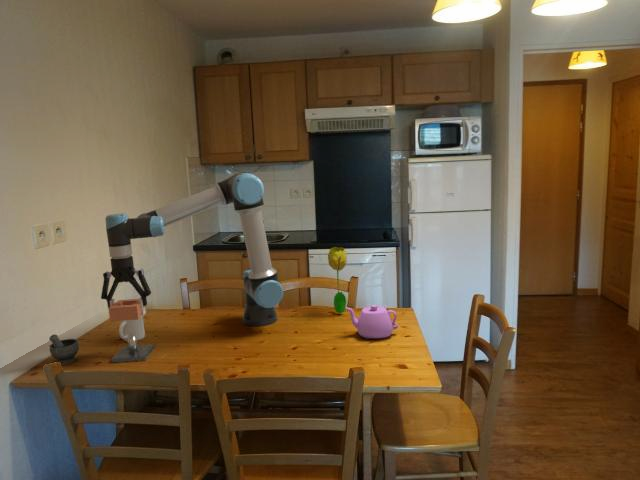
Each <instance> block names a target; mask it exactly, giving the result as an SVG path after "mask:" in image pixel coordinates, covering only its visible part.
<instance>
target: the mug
mask: <svg viewBox="0 0 640 480" xmlns="http://www.w3.org/2000/svg"><path fill="white" fill-rule="evenodd" d="M120 322H121V323H120V325H119V327H118V334H119V337H120V338H121V339H122V340H124V342H126V341H127V342H126V343H128V339H127V336H129V335H136V340H137V342H139V341H142V340H143V339H144V338H145V337H146V332H145V322H144V316H141V317H140V318H139V319H138V320H124V321H120ZM138 340H139V341H138Z"/></svg>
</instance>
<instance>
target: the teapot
mask: <svg viewBox="0 0 640 480" xmlns="http://www.w3.org/2000/svg"><path fill="white" fill-rule="evenodd" d="M345 310H347V311H348V312H349V314H350V320H351V323H352V325H353V327H355V328H356V329H357V332H358V335H359V336H361V337H362V338H365V339H369V340H370V339H385V338H388V337H390V336H391V335H392V333H393V330H397V329H398V328H399V325H398V323H396V321H397V319H398V318H397V316H398V315H397V312H396V311H394V310H393V309H389V310H387V308H386V307H383V306H378V304H371V305H370V306H367V307H363V308H362V310H361V312H360V315H359V316H358V318H357V317H356V316H355V311H354V310H353V308H351V307H347V306H346V307H345ZM390 313H391V314H393V315H394V316H393V320H392V317H391V315H390Z"/></svg>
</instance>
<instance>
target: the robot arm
mask: <svg viewBox="0 0 640 480" xmlns="http://www.w3.org/2000/svg"><path fill="white" fill-rule="evenodd" d="M264 192H265V187H264V183H263V182H262V181H261V179H260V178H259V177H258V176H256V175H255V174H252V173H249V172H246V173H243V172H242V173H236V174H233V175H230V176H229V177H228V178H226V179H223V180H221V181H219V182H216V183H215V184H214V186H213V187H210V188H208V189H205V190H202V191H199V192H198V193H196V194H193V195H190V196H187V197H185V198H181V199H180V200H177V201H174V202H172V203H170V204H169V203H168V204H166V205H164V206H161V207H158V208H156V209H154V210H151V211H148V212H145V213H144V212H143V213H141V214H139V215H138V216H137V217H133V218H129V217H128V214H127V213H113V214H111V213H110V214H108V215H107V216H106V217H105V229H106V237H107V244H108V251H109V257H110V266H111V271H105V272H104V273H102V276H103V284H102V289H101V295H100V299H101V300H106V304H107V308H109V307H110V306H112V305H113V304H114V303H116V302H115V301H116V299H115V298H113V297H114V295H115V292H116V290H117V287H119V284H120V283H129V284H130V285H131V286H132V287H133V289H134V290H135V291H136V292H137V294H138V295H139V296H140V298H138V299H139V300H140V308H141V316H143V317H144V316H145V315H146V314H147V311H145V306H146V307H147V306H148V298H147V297H149V296H151V294H152V291H151V288H150V286H149V284H148V282H147V279H146V277H145V275H144V272H145V271H144V269H143V268H142V269H135V266H134V264H135V263H134V257H133V249H132V242H131V240H135V239H143V238H144V239H146V238H156V237H162V236H164V235H165V228H166V227H168V226H169V225H172V224H175V223H177V222H180V221H183V220H184V219H187V218H191V217H192V216H195V215H197V214H200V213H203V212H205V211H209V210H210V209H212V208H215V207H218V206H220V205H223V206H227V205H230V204H233V208H234V209H233V210H234V211H235V212H236V213H238V214H239V219H240V222H241V223H240V224H241V228H242V232H243V233H242V234H243V239H244V242H245V247H246V248H245V249H246V253H247V258H248V263H249V267H250V269H248V270H245V271H243V274H242V280H243V291H244V292H243V293H244V302H245V306H244V310H243V313H242V323H243V324H244V325H246V326H248V327H249V326H251V327H261V326H267V325H271V324H274V323H275V322H277V321H278V313H277V310H276V308H275V307H276V306H277V305H279V304H280V303H281V302H282V300H283V297H284V288H283V286H282V284H281V283H280V282H279V276H278V272H277V269H275V268H274V267H273V265H272V264H273V263H272V260H271V255H270V249H269V244H268V238H267V234H266V229H265V224H264V219H263V218H264V217H263V214H262V209H263V208H264V205H265V204H264V198H263V197H264ZM135 275H136V276H137V277H138V280H139V282H140V283H141V285H140V284H139V282H138V281H137V279H136V277H135ZM111 277H113V278H114V279H113V281H112V285H111V287H110V290H109V286H110V280H111ZM141 286H142V287H141Z"/></svg>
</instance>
